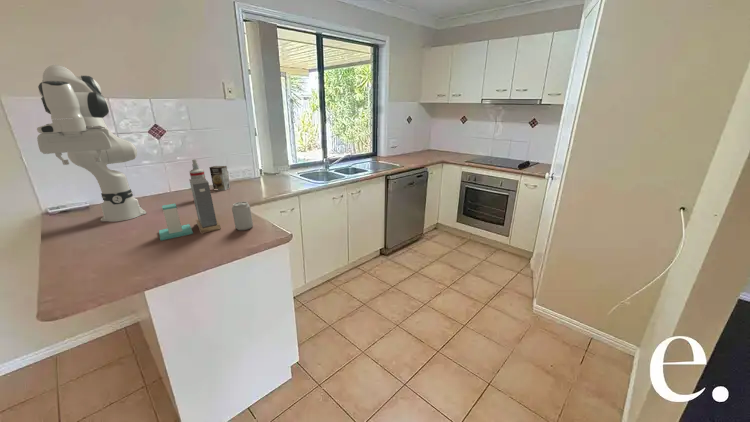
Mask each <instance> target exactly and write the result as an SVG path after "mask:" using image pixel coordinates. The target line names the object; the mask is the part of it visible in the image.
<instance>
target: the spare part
mask: <svg viewBox="0 0 750 422" xmlns="http://www.w3.org/2000/svg"><path fill="white" fill-rule="evenodd" d="M176 204H177V203H170V204H164V205H161V209H162V212H163V216H164V219H165V222H166V227H167V228H168V231H169V234H171V233H176V232H181V231H182V227H181V226H182V224H181V220H180V215H179V211H178V207H177V205H176Z"/></svg>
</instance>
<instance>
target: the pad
mask: <svg viewBox="0 0 750 422" xmlns="http://www.w3.org/2000/svg"><path fill="white" fill-rule="evenodd" d="M181 227H182V231H181V232H176V233H171V234H169V231H168V227H167V228H164V229H159V230H158V231H159V232H158V233H159V239H160V241H166V240H170V239H175V238H179V237H183V236H189V235H193V234H194V232H193V229H192V227H191V224H190V223H187V224H183V225H182V224H181Z"/></svg>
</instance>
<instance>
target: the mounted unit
mask: <svg viewBox="0 0 750 422" xmlns="http://www.w3.org/2000/svg"><path fill="white" fill-rule="evenodd" d="M189 184H190V189H191V193H192V198H193V203H194V206H195V210H196V216H197V219H195V221H196V225H197V227H198V229H199V232H200V234H205V233H209V232H213V231H217V230H221V228H222V227H221V224H220V222H219V221H218V220H217V216H216V213H215V208H214V204H213V203H214V202H213V199H212V198H213V197H212V194H211V189H210V183H209V181H208V180H207V179H206V177H205V178H196V179H191V178H189Z"/></svg>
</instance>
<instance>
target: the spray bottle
mask: <svg viewBox="0 0 750 422" xmlns="http://www.w3.org/2000/svg"><path fill="white" fill-rule="evenodd" d="M191 161H192V169H190V170H189V171H188V172H189V176H190V179H196V178H205V179H206V175H205V170H204V169H203V168H200V167H199V166H200V165H199V164H198V160H197V159H195V158H192V159H191Z"/></svg>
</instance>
